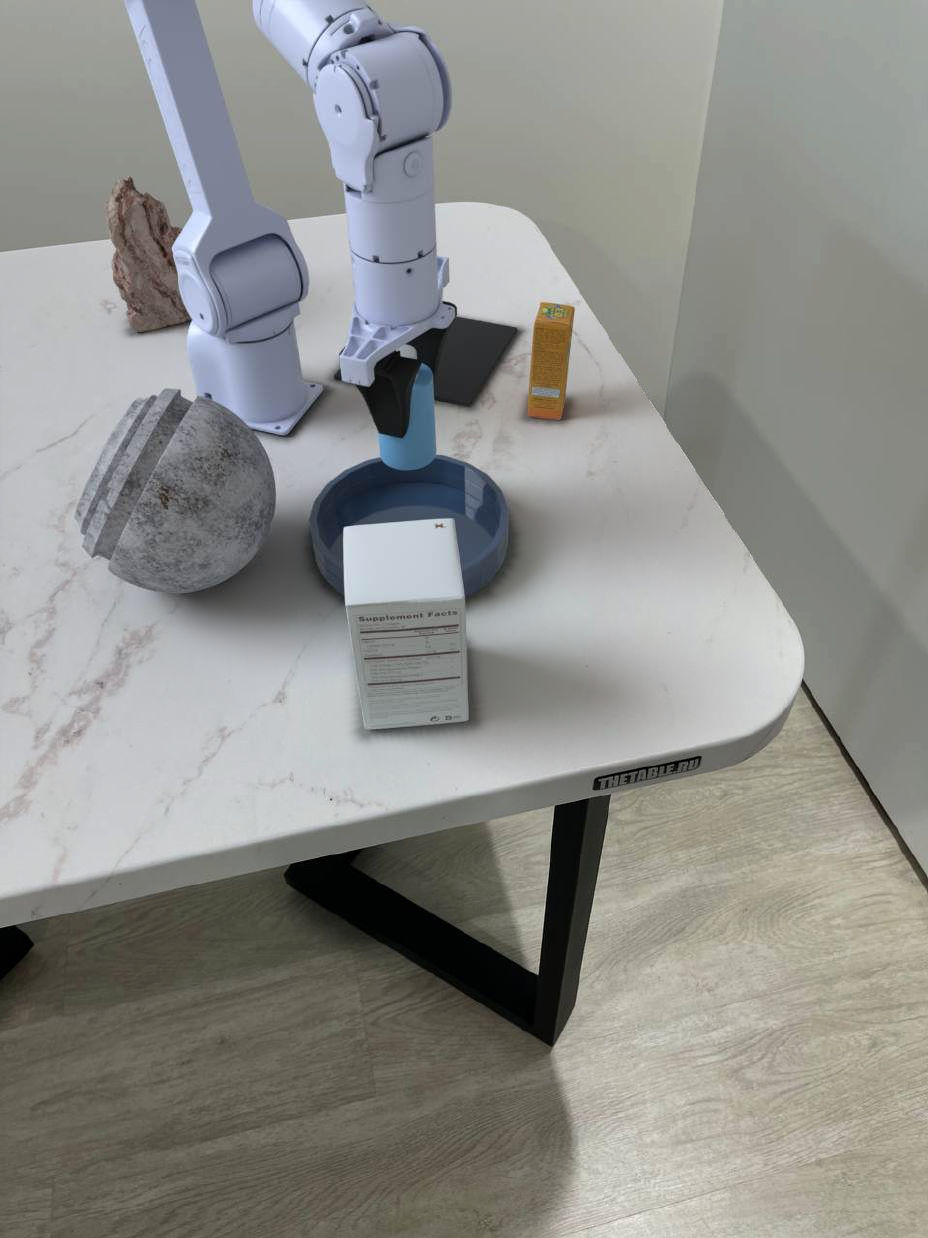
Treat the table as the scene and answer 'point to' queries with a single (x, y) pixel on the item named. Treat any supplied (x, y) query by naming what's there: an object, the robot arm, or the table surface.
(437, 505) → the bowl
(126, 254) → the stone
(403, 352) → the bottle
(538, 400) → the supplement box
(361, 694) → the white packaging box
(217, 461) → the decorative orb
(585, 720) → the table surface
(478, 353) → the mat
